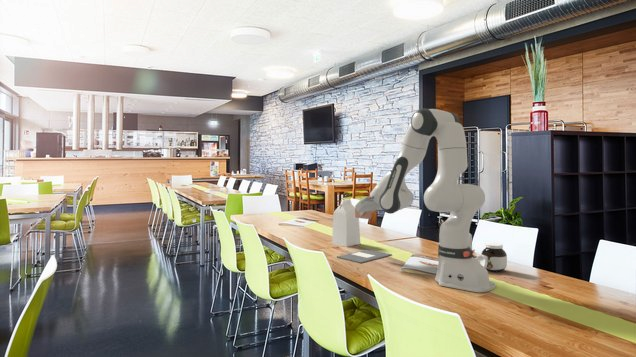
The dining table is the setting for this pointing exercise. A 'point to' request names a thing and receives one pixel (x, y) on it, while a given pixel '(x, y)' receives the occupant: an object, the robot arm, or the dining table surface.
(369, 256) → the charcoal mat
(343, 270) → the dining table surface
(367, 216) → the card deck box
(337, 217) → the milk
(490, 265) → the spread jar
